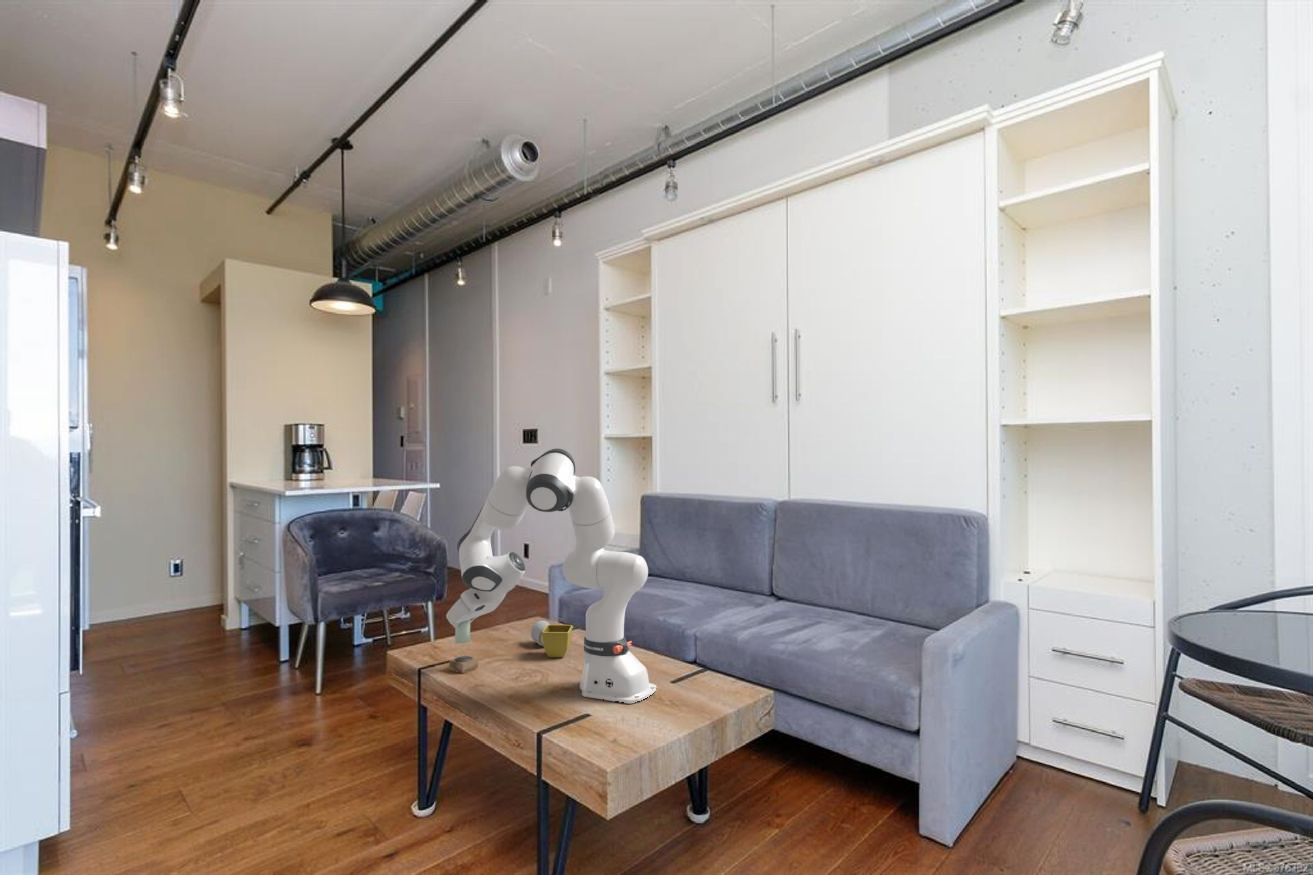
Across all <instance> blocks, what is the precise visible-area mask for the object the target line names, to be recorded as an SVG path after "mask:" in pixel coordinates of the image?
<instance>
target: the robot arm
mask: <svg viewBox="0 0 1313 875" xmlns="http://www.w3.org/2000/svg"><path fill="white" fill-rule="evenodd" d="M575 473H576V463H575V460H574V458H573V455H572V454H570V452H568V451H567V450H565V449H563V448H552V449H550V450H547V451H545V452H544V453H543V454H541V455H540V456H538V457H537V458H534V459H533V460H531V463H530V467H528V468H526V467H522V466H518V465H512V466H508V467H506V468H504V470H502V472H501V473H500V474H499V475H498V478H496V480H495V482H494V483H493V485H492V487H491V489H490V491H489V493H488V496H487V498H486V500H485V502H484V504H483V505H482V507H481V508H480V510H479V513H478V514H477V516H476V518H475V520H474V522H473V523H472V525H471V527H470V528H469V530H468V531H467V532H466V533H464V535H462V537H460V539H459V540H458V542H457V543H456V544H457V545H456V548H457V549H456V550H457V553H458V557H459V565H460V566H459V567H460V572H461V573H460V574H461V581H462V583H463V584H464V586H466V587H468V588H469V589H466V590H464V591H463V592H462V593H460V598H459V599H458V600H456V602H455V603H454V604H453V605H452V606H451V608H450V609H449V610H448V611H447V613H446V619H447V622H449V623H450V625H452V626H453V628H454V629H455V628H457V627H459V626H460V625H461V622H463V621H466V620H469V619H470V624H471V623H472V622H473V621H474V620H475V619H477V618H479V617H480V616H484V615H486V614H488V613H489V614H490V613H492V612H494V611H495V610H496V609H497V608H498V607H499V606H500V604H501V603H502V602H503V600H504V599H505V597H506V596H507V594H508V592H510V591H511V590H513V589H514V588H515V587H516V586H517V584H518V583H519V582H520V581H521V580H522V578H523V576H524V575H525V573H526V566H525V562H524V560H523V559H522V557H521V556H520V555H519V554H518V553H515V552H514V551H510V552H507V553H506V554H503V555H496V556H495V555H493V550H492V539H491V538H492V534H493V532H494V531H495V530H499V531H508V530H512V529H515V528H516V527H517V526H518V525H519V523H520V522H522V519H523V518H524V515H525V514H526V511H527V510H528V507H529V505H530V507H531V508H532V509H535V510H536V511H539V512H542V513H543V512H544V513H553V512H564V511H566V510H567V509H568V511H569V514H570V515H569V516H570V518H571V522H572V527H573V531H574V536H575V546H574V549H572V551H570V552H569V553H568V554H567V556H566V557H565V559H564V561H563V566H562V571H563V576H564V578H565V581H567V583H568V584H572V585H574V586H577V587H581V588H585V589H586V588H587V589H588V588H589V589H598V590H603V591H602V592H603V594H602V595H603V596H602V598H601V599H599V600H597V601H596V602H594V603H592V604H590V606H589V607H588V608H587V610H586V611H585V612H586V613H585V635H584V637H583V651H584V664H583V669H582V675H581V679H580V682H579V683H580V684H579V689H580V690H581V696H582V697H584V698H591V699H597V700H603V699H604V700H603V701H608V702H609V701H611V702H615V701H619V702H618V703H621V702H624V703H623V704H629V705H631V704H635V702H636V703H638V702H637V701H640V702H642V701H644V700H643V699H645V698H647V697H648V698H650V697H651V696H650V695H652V694H653V693H654V692H655V691H656V692H657V690H656V688H657V685H656V684H654V683H653V682H652V683H651V682H650V679H649V675H648V674H649V672H648V669H647V668H646V666H645V665H644V664H643V663H642V662H640V661H639V659H638V658H636V656H635V655H634V654H633V653H632V652H631V651H630V648H629V646H632V645H633V644H632V640H630V641H627V639H626V636H625V634H624V633H625V617H626V609H627V606H628V603H629V601H630V600H631V598H632V597H633V595H634V594H635V593H637V591H639V590H640V589H641V588H642V587H644V585H645V584H646V583H647V580H648V576H649V567H648V564H647V561H646V559H645V558H644V557H643V556H642V555H639V554H636V553H631V552H629V551H628V552H627V551H613V550H606V549H604V548H605V547H607V546H609V544H611V542H612V541H613V539H614V537H615V534H616V528H615V522H614V519H613V514H612V510H611V507H610V504H609V500H608V497H607V494H606V492H605V490H604V487H603V485H602V484H601V482H600V480H598V479H597V478H595V477H593V476H589V475H586V476H578V475H577V476H576V475H575ZM657 689H658V688H657ZM656 692H655V693H656ZM655 693H654V694H655ZM654 694H653V695H654ZM653 695H652V696H653ZM649 696H650V697H649ZM648 698H647V699H648ZM641 700H642V701H641ZM645 700H646V699H645Z"/></svg>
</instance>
